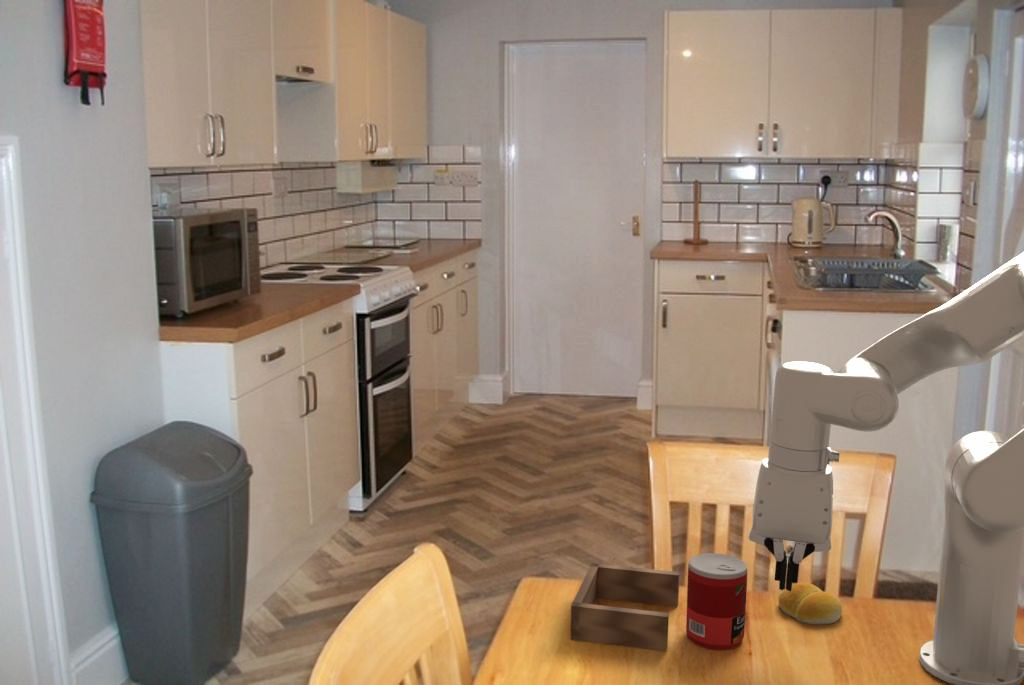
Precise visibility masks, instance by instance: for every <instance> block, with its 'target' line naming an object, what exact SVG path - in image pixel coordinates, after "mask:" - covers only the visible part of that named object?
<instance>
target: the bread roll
mask: <svg viewBox="0 0 1024 685" xmlns="http://www.w3.org/2000/svg"><path fill="white" fill-rule="evenodd" d="M778 604H779V607H780V609H781V610H782V612H783V613H785V614H786V615H788V616H789V617H791V618H795V619H796V620H797V621H799V622H801V623H804V624H809V625H829V624H834V623H836V622H837V621H838V620H840V618H841V617H842V613H843V604H842V602H841V600H840V599H839V597H838V596H837V595H835V594H834V593H832V592H828V591H823V590H822V589H821V588H819V587H818V586H817V585H815V584H812V583H810V582H804V581H799V582H797V583H792V589H791V591H787V589H786V588H785V589H783V590H781V592H780V593H779V595H778Z"/></svg>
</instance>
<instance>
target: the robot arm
mask: <svg viewBox="0 0 1024 685" xmlns="http://www.w3.org/2000/svg"><path fill="white" fill-rule="evenodd" d="M1023 337H1024V251H1023V252H1021V253H1020V254H1018V255H1017V256H1015V257H1013V258H1012V259H1011V260H1009V261H1008V262H1006V263H1004V264H1003V265H1001V266H1000V267H999V268H997V269H996V270H994V271H993V272H991V273H990V274H988V275H986V276H985V277H983V278H982V279H981V280H979V281H977V282H976V283H975V284H973V285H972V286H970V287H969V288H967V289H965V290H964V291H962V292H960V294H958V295H956V296H955V297H953V298H952V299H950V300H948V301H947V302H946V303H943V304H942V305H941V306H939V307H937V308H935V309H933V310H930V311H929V312H927V313H925V314H923V315H922V316H920V317H919V318H916V319H914V320H912V321H911V322H909V323H907V324H905V325H903V326H901V327H899V328H897V329H895V330H894V331H893V332H891V333H888V334H887V335H885V336H884V337H882V338H880V339H879V340H878V341H876V342H874V343H873V344H871V345H870V346H869V347H867V348H866V349H864V350H862V351H861V352H859V353H858V354H856V355H855V356H853V357H852V358H851V359H850V360H848V361H847V362H845V364H843V365H842V366H841V368H840V369H839V370H838V372H837V373H834V371H833V370H832V369H831V368H830V367H828V366H826V365H823V364H821V363H816V362H810V361H787V362H785V363H783V364H781V365H780V366H778V368H777V370H776V373H775V378H774V379H775V380H774V389H773V399H772V400H773V401H772V402H773V403H772V411H771V423H770V433H769V445H768V446H769V447H768V456H767V457H766V458H764V459H762V461H761V464H760V467H759V471H758V474H757V479H756V484H755V493H754V499H753V505H752V506H753V508H752V525H751V527H750V530H749V533H748V540H749V541H750V542H753V543H756V544H759V545H762V546H765V547H766V549H767V550H768V552H770V554H772V556H773V557H774V559H775V568H774V581H775V582H776V581H777V582H778V581H779V583H778V584H779V585H778V586H779V587H778V588H779V589H778V590H781V591H783V590H785V589H787V591H791V589H792V584H794V583H798V579H799V570H800V564H801V563H802V562H803V560H804V559H806V558H807V557H809V556H811V554H813V553H815V552H816V553H819V552H820V553H821V552H829V551H831V550H832V543H831V542H832V541H831V532H832V524H833V522H832V521H833V510H834V508H833V507H834V505H833V504H834V476H833V468H832V467H831V466H829V465H830V463H833V462H834V463H839V462H840V451H835V450H834V449H831V447H829V446H830V435H831V425H833V426H838V427H840V428H846V429H848V430H853V431H857V432H863V433H864V432H867V433H869V432H870V433H871V432H877V431H880V430H882V429H885V428H887V427H888V426H890V424H891V423H892V422H893V421H894V420H895V418H896V416H897V414H898V410H899V405H900V404H899V396H898V395H899V394H901V393H903V392H904V391H905V390H907V389H909V388H910V387H912V386H914V384H917V383H918V382H920V381H922V380H923V379H925V378H927V377H929V376H932V375H933V374H936V373H939V372H941V371H944V370H947V369H951V368H958V367H969V366H973V365H978V364H981V363H983V362H986V361H988V360H989V359H992V358H993V357H994V356H996V355H998V354H999V353H1000V352H1002V351H1004V350H1005V349H1006V348H1008V347H1009V346H1012V345H1013V344H1015V343H1016V342H1017V341H1019V340H1020V339H1022V338H1023ZM1018 413H1019V414H1018V419H1019V421H1018V422H1019V424H1020V427H1021V430H1020V431H1018V432H1017V433H1016V434H1015V435H1014V436H1012V437H1009V436H1007V435H1004V434H1003V433H1001V432H997V431H993V430H978V431H973V432H971V433H967V434H966V435H964V436H962V437H961V438H960V439H959V440H957V441H956V442H955V444H954V445H952V447H951V449H950V451H949V452H948V455H947V458H946V460H945V465H944V474H943V476H944V477H943V523H942V535H941V545H940V547H941V548H940V555H939V556H940V557H939V558H940V559H939V567H938V568H939V569H938V581H937V590H936V592H937V593H936V605H935V613H934V614H935V615H934V616H935V617H934V629H933V639H931V640H930V641H927V642H925V643H924V644H923V645H921V647H920V649H919V655H918V658H919V662H920V664H921V666H922V667H923V668H924V669H925V671H927V672H928V673H929V674H931V675H932V676H934V677H936V678H938V680H941V681H943V682H945V683H948V684H951V685H1020V684H1021V683H1023V681H1024V643H1019V641H1017V640H1016V638H1015V632H1016V622H1017V612H1018V604H1019V593H1020V581H1021V573H1022V572H1021V571H1022V563H1023V556H1024V555H1023V554H1024V400H1023V401H1022V403H1021V404H1020V408H1019V412H1018ZM784 541H787V542H789V541H790V542H794V545H793V549H792V551H791V552H790V554H789V555H787V552H786V550H785V546H784Z"/></svg>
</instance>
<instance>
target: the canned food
mask: <svg viewBox="0 0 1024 685" xmlns="http://www.w3.org/2000/svg"><path fill="white" fill-rule="evenodd" d="M687 568H688V569H687V586H686V587H687V588H686V590H687V593H686V619H685V620H686V622H685V624H686V625H685V628H686V630H685V632H686V635H687V637H688V639H689V641H690V642H692V644H695V645H696V646H699V647H701V648H704V649H707V650H717V651H724V650H725V651H726V650H728V651H729V650H732V649H735V648H738V647H739V646H740V645H741V644H742V643H743V640H744V637H745V632H746V631H745V629H746V628H745V627H746V612H747V611H746V606H747V590H748V589H747V588H748V565H747V563H746V562H745V561H743V560H742V559H741V558H738V557H736V556H733V555H729V554H724V553H715V552H712V553H711V552H709V553H708V552H707V553H701V554H696V555H694V556H692V557H691V558H690V559H689V560H688V567H687Z"/></svg>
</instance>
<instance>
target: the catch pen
mask: <svg viewBox="0 0 1024 685" xmlns="http://www.w3.org/2000/svg"><path fill="white" fill-rule="evenodd" d="M679 593H680V572H679V571H671V570H661V569H652V568H645V567H644V568H642V567H635V566H634V567H632V566H625V565H623V566H622V565H614V564H613V565H612V564H603V563H594V562H591V563H590V566H589V567H588V569H587V572H586V574H585V576H584V578H583V580H582V582H581V585H580V587H578V590H577V593H576V595H575V597H574V599H573V601H572V603H571V606H570V640H572V641H576V642H577V641H578V642H579V641H580V642H585V643H586V642H587V643H594V644H603V645H611V646H619V647H620V646H621V647H626V648H627V647H629V648H635V649H643V650H653V651H659V652H668V647H669V646H668V644H669V643H668V642H669V614H670V613H669V612H662V611H653V610H643V609H636V608H629V607H628V608H627V607H617V606H608V605H599V604H596V602H597V600H598V599H602V600H611V601H618V602H619V601H620V602H629V603H636V604H637V603H638V604H645V605H647V604H648V605H654V606H655V605H656V606H663V607H670V608H679V607H678V606H679V596H680V594H679Z"/></svg>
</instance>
